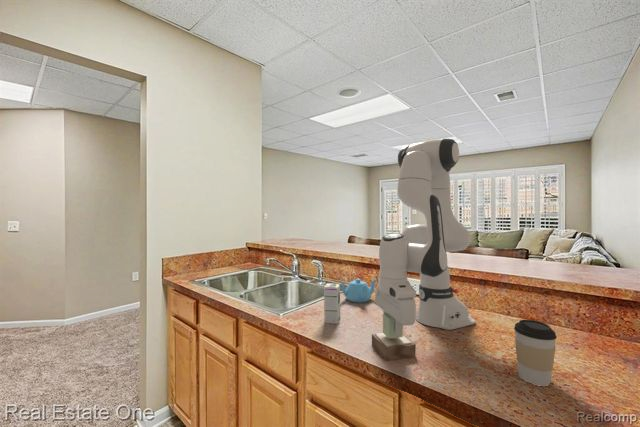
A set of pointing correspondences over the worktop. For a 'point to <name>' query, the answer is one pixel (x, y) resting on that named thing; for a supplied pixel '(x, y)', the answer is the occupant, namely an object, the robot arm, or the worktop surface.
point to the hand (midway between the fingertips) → (392, 328)
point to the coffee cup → (535, 351)
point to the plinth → (393, 346)
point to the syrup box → (332, 303)
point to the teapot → (358, 291)
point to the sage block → (390, 327)
